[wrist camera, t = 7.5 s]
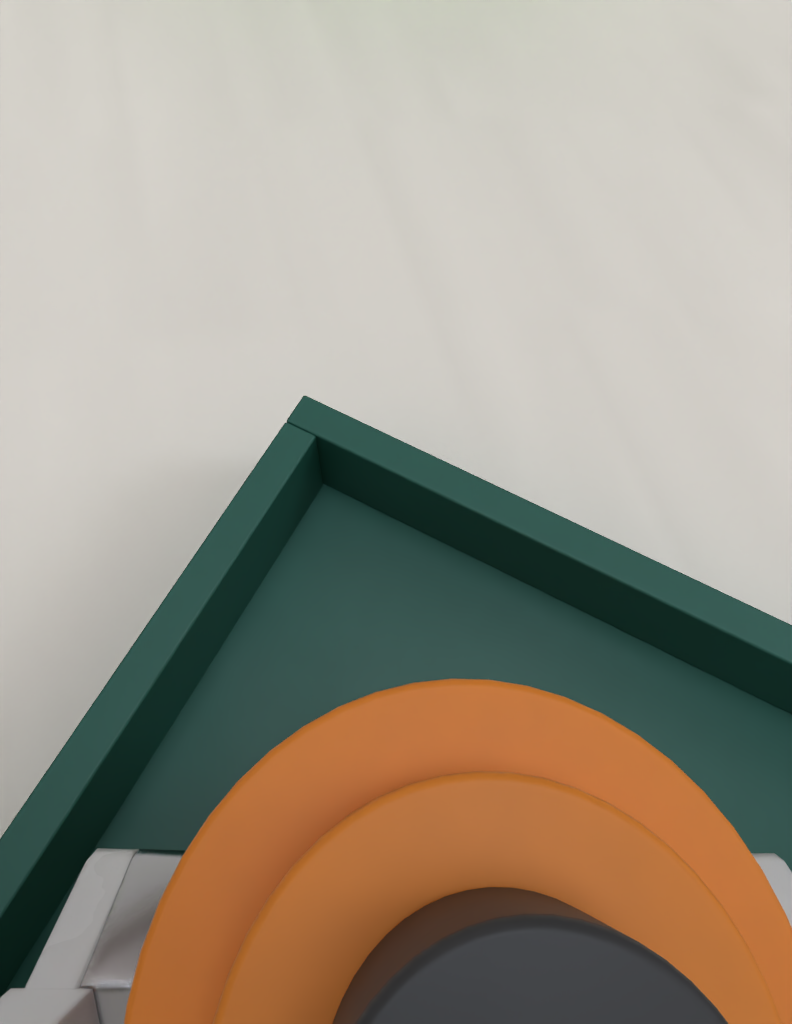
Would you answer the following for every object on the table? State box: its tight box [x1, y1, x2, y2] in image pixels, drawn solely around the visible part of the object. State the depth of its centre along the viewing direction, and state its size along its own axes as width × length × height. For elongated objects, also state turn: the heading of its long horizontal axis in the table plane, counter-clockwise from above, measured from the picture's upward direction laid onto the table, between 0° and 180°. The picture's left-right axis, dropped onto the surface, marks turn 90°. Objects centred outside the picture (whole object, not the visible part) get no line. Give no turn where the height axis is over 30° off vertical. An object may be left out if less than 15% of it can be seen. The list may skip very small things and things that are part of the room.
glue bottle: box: [124, 679, 792, 1024], centre depth 8 cm, size 5×5×12 cm
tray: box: [0, 396, 792, 997], centre depth 12 cm, size 16×18×3 cm
